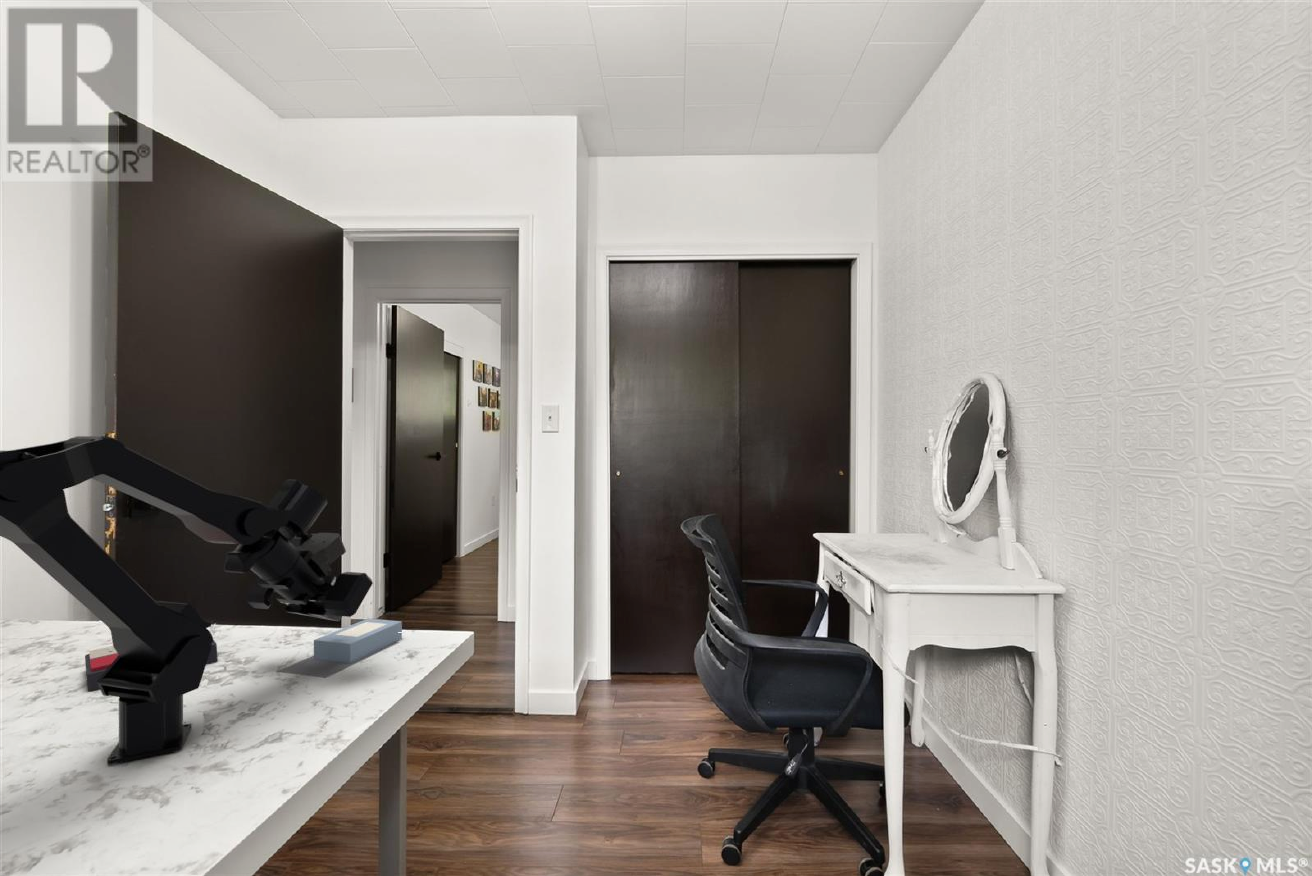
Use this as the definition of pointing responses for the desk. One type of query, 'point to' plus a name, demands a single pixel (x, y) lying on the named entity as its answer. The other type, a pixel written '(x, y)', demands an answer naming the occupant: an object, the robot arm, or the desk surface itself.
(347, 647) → the card box
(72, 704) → the desk surface
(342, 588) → the robot arm
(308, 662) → the mat
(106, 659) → the calculator
